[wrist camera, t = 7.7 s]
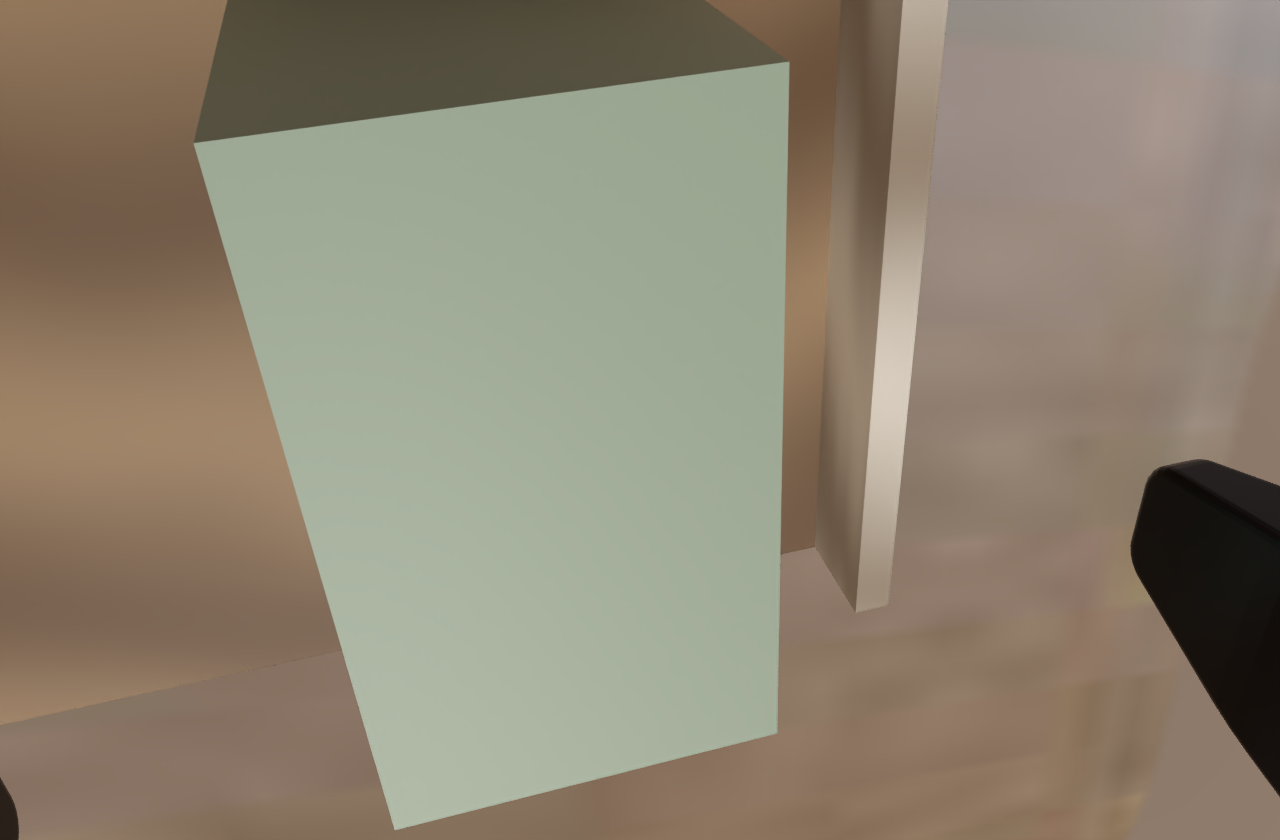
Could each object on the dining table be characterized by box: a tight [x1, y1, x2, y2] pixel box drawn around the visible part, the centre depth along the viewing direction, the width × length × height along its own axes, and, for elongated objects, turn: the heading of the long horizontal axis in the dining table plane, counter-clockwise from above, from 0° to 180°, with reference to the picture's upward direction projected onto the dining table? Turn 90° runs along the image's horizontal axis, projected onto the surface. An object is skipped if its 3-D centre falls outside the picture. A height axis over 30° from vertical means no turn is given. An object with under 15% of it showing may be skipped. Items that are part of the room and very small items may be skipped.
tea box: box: [194, 0, 789, 830], centre depth 12 cm, size 7×4×7 cm, turn 4°
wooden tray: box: [0, 0, 948, 725], centre depth 14 cm, size 17×17×3 cm
